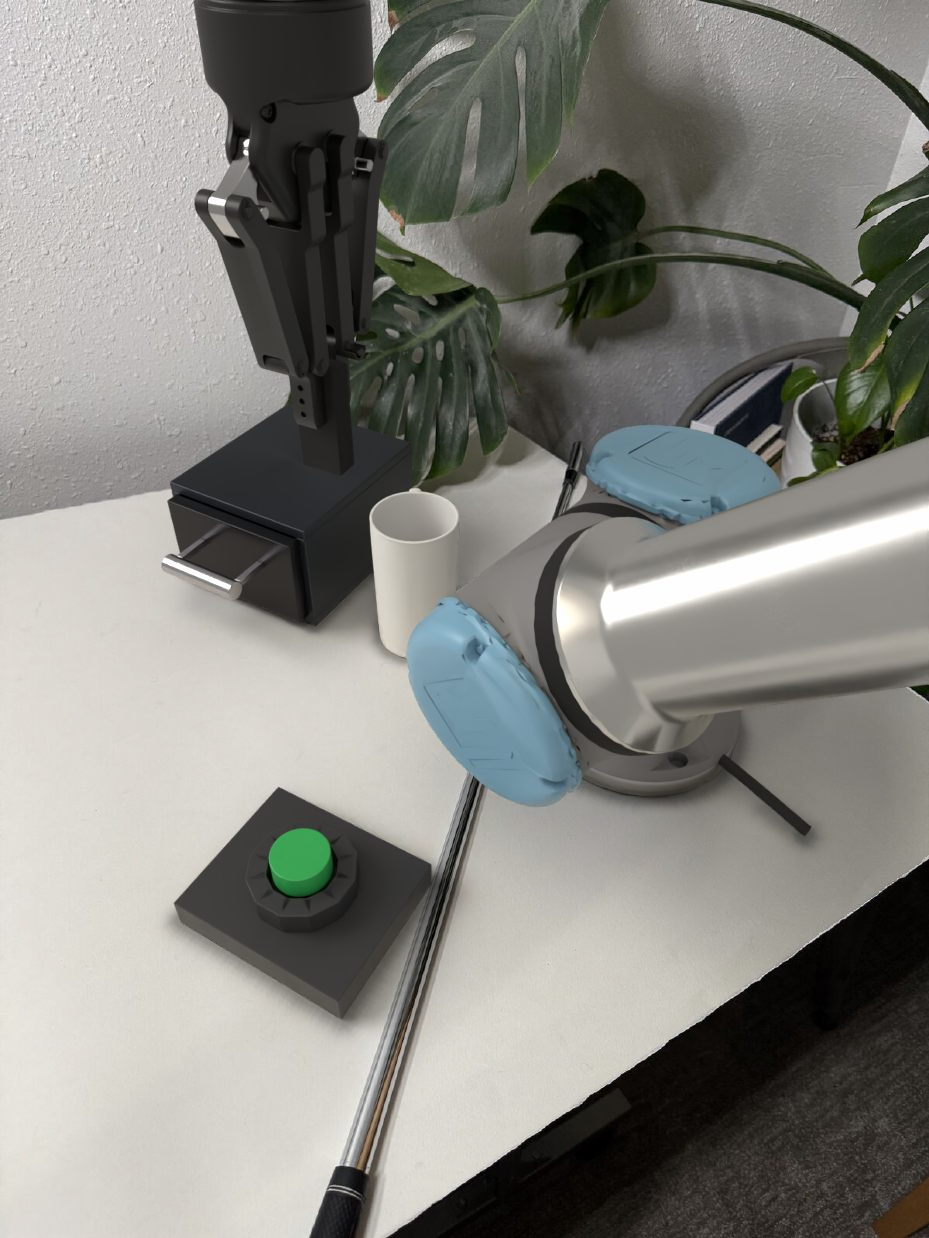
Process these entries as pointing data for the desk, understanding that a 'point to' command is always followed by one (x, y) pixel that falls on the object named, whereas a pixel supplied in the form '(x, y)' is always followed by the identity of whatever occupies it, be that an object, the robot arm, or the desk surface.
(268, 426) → the cabinet
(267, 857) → the control block
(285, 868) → the button
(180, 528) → the drawer
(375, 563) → the mug
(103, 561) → the desk surface
